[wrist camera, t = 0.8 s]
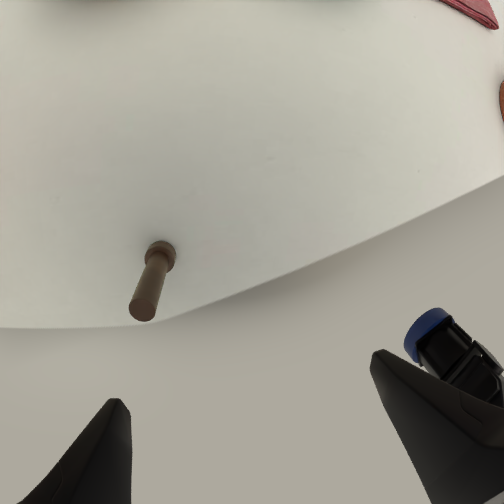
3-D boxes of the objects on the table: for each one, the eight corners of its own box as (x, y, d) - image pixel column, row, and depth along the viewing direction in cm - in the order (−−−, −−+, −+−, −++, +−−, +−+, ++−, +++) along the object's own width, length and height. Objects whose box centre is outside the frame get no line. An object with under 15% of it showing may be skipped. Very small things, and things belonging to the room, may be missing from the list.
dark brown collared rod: (159, 273, 23) (141, 333, 16) (141, 251, 22) (114, 305, 15) (181, 257, 23) (170, 315, 15) (163, 235, 22) (142, 285, 14)
